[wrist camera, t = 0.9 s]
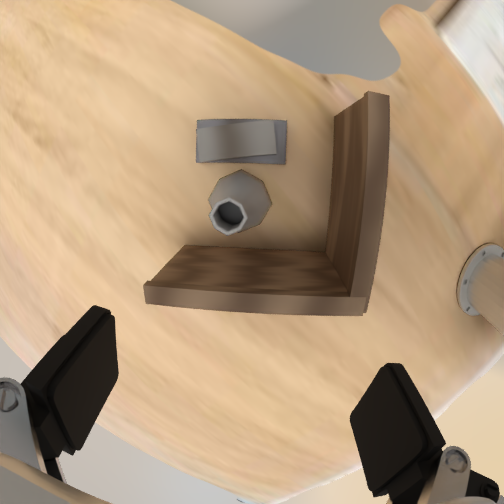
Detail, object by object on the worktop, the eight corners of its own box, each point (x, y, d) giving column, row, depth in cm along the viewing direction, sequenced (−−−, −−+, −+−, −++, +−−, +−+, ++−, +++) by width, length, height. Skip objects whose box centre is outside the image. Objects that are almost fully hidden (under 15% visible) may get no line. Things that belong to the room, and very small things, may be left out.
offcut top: (273, 123, 28) (273, 119, 26) (276, 154, 29) (276, 153, 27) (201, 131, 29) (196, 129, 27) (204, 161, 30) (199, 162, 28)
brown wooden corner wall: (346, 118, 29) (389, 95, 17) (335, 263, 35) (365, 315, 22) (185, 112, 30) (138, 87, 18) (185, 256, 36) (145, 303, 23)
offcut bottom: (285, 123, 30) (286, 120, 28) (284, 164, 32) (285, 164, 30) (202, 122, 31) (197, 120, 29) (201, 162, 32) (196, 162, 30)
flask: (198, 199, 33) (171, 213, 24) (242, 158, 32) (231, 156, 22) (237, 242, 35) (226, 272, 25) (283, 204, 33) (288, 221, 24)
